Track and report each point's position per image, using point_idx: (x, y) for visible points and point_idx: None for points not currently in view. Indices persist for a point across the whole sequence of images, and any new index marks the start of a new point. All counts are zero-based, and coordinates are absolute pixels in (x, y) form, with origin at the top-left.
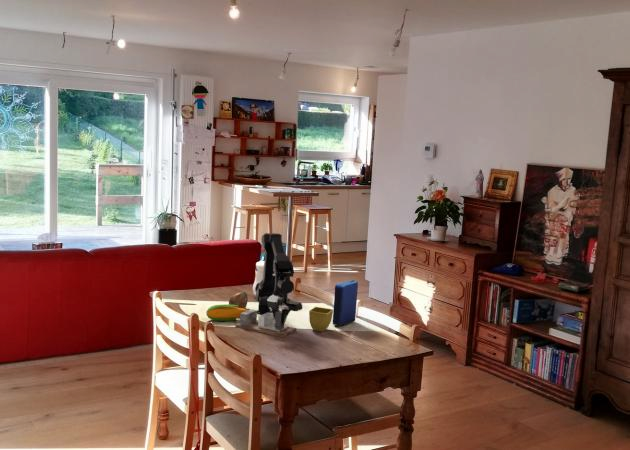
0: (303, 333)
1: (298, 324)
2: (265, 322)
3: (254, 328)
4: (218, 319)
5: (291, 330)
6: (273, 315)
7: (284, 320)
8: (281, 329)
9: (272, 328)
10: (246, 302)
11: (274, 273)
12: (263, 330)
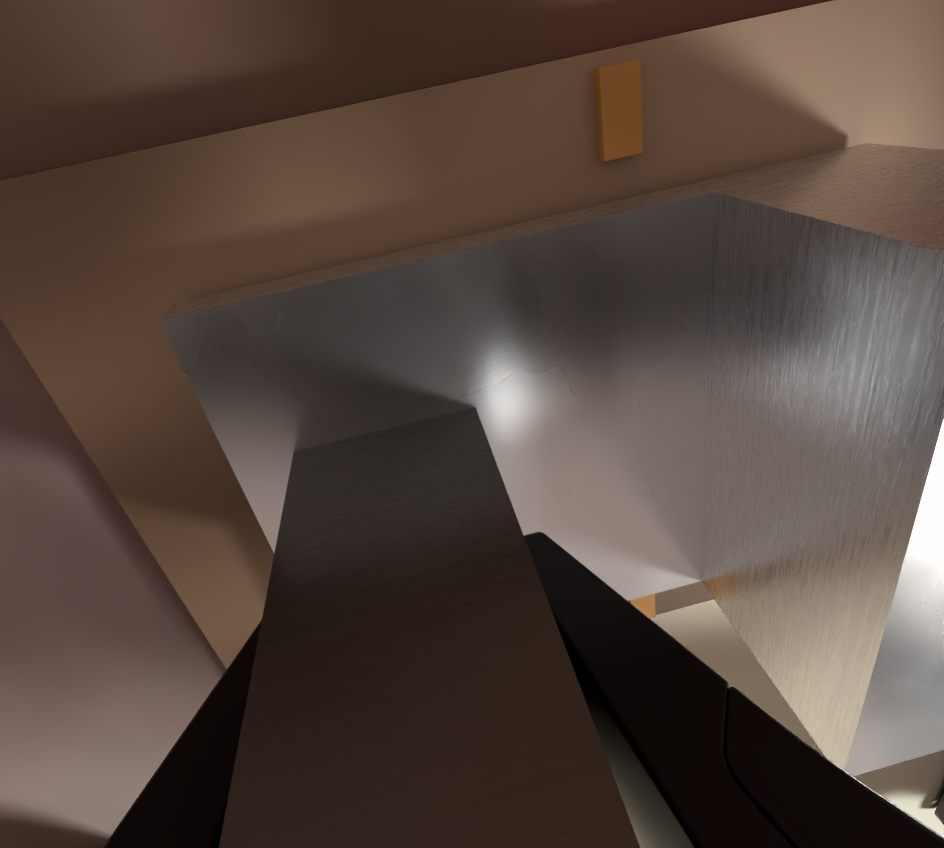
0: (38, 693)
1: None
2: (781, 307)
3: (919, 7)
4: None
5: (186, 606)
6: (697, 665)
7: None
8: (209, 416)
9: (440, 284)
10: None
11: None
12: (616, 64)
